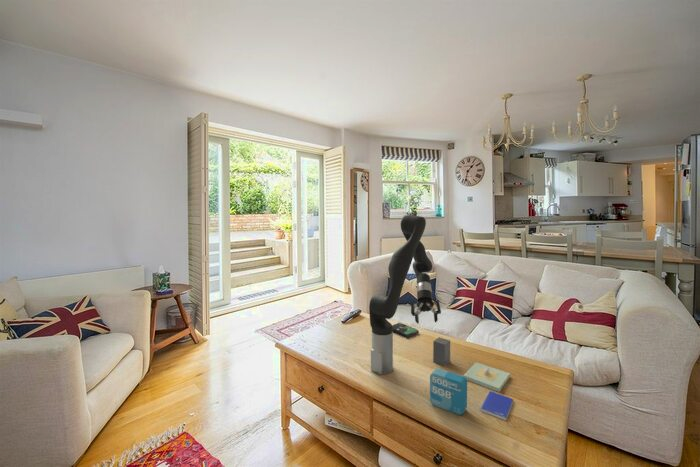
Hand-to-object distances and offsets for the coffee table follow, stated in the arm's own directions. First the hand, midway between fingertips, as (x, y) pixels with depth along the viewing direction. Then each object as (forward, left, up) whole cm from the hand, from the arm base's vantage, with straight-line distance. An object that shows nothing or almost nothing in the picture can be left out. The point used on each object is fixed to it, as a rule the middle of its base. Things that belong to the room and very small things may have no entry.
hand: (426, 322), depth 145 cm
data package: (-30, -25, -16) cm, 42 cm away
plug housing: (-2, -9, -16) cm, 18 cm away
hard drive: (-18, -38, -17) cm, 45 cm away
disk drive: (+16, +23, -17) cm, 33 cm away
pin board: (-2, -29, -16) cm, 33 cm away
